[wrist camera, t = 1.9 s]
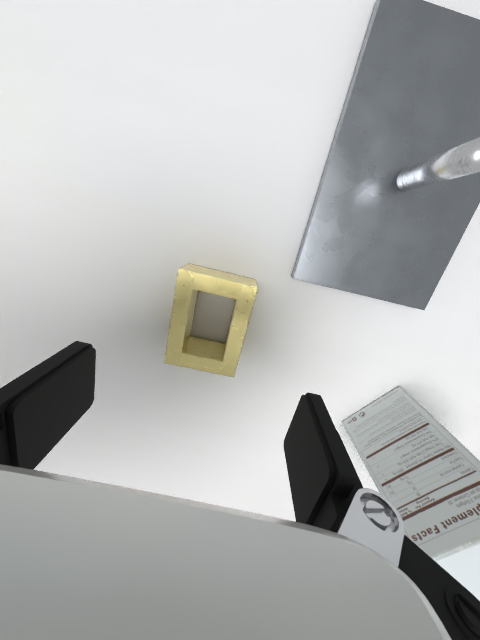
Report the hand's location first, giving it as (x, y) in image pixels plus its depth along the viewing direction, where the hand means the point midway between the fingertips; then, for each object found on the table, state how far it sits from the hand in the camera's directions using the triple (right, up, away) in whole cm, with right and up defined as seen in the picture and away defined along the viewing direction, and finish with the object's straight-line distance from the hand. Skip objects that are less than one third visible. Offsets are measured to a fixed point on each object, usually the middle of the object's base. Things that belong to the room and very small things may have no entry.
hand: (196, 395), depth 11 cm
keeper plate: (+14, +14, +8) cm, 22 cm away
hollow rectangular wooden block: (-1, +4, +12) cm, 12 cm away
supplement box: (+18, -8, +16) cm, 25 cm away
